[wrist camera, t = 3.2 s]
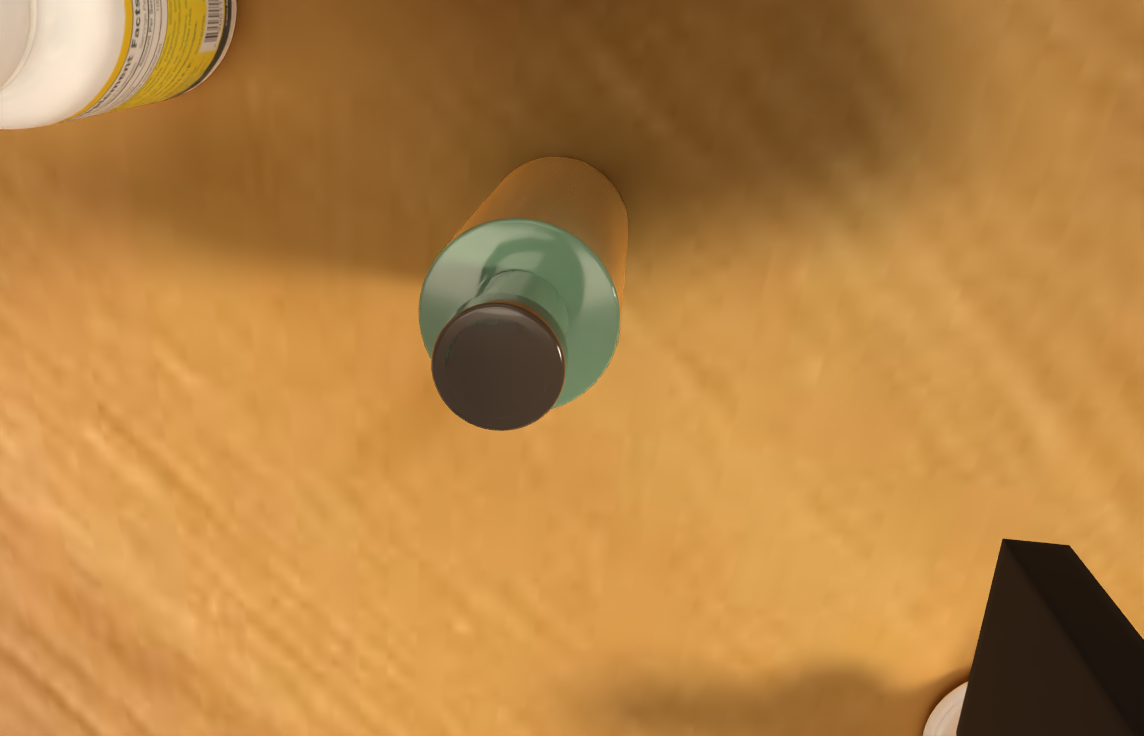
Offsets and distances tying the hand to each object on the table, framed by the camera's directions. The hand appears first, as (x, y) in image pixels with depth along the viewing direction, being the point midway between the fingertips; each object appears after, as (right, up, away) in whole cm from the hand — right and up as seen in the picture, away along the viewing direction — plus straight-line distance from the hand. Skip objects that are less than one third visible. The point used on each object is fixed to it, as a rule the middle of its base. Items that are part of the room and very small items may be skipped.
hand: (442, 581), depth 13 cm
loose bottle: (+1, +6, +16) cm, 17 cm away
